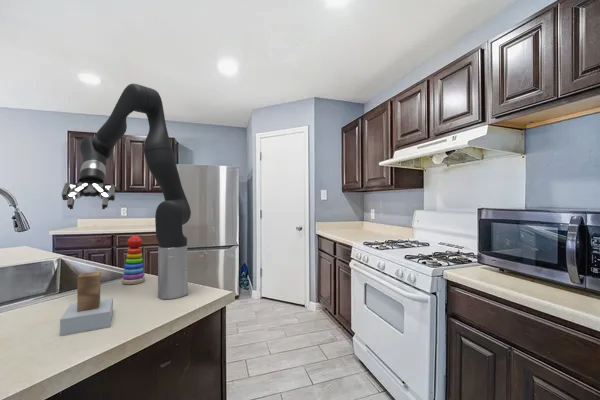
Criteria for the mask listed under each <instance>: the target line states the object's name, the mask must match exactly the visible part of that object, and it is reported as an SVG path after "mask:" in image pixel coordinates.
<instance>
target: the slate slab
mask: <svg viewBox="0 0 600 400" xmlns="http://www.w3.org/2000/svg"><path fill="white" fill-rule="evenodd" d="M113 312H114V297H109V298H100V305H99V309H93V310H87V311H80V312H77V302H73V303H69V305H68V306H67V308H66V309H65V311H64V313H63V314H62V316H61V317H60V319H59V336H60V337H61V336H67V335H74V334H78V333H84V332H89V331H95V330H101V329H105V328H110V326H111V322H112V317H113Z"/></svg>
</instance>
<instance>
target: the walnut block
mask: <svg viewBox="0 0 600 400" xmlns="http://www.w3.org/2000/svg"><path fill="white" fill-rule="evenodd" d="M76 290H77V292H76V293H77V295H76V296H77V299H76V300H77V301H76V303H77V312H80V311H87V310H93V309H99V305H100V299H101V271H91V272H82V273H81V272H80V274H79V275H78V276H77V289H76Z"/></svg>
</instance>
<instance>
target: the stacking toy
mask: <svg viewBox="0 0 600 400" xmlns="http://www.w3.org/2000/svg"><path fill="white" fill-rule="evenodd" d="M142 243H143V239H142V237H140V236H138V235H133V236H130V237H129V238H128V239H127V246H128V249H126V252H127V254H126V255H125V256H126V259H125V264H124V266H123V268H124V269H123V274H122V280H121V283H122V284H123V285H126V284H127V285H128V286H131V284H133V285H137V284H141V283H143V282H145V272H144V270H145V269H144V267H143V266H144V263H143V261H144V259H143V253H142V248H141V245H143V244H142Z"/></svg>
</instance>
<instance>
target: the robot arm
mask: <svg viewBox="0 0 600 400" xmlns="http://www.w3.org/2000/svg"><path fill="white" fill-rule="evenodd" d="M114 105H115V106H114V108H113V109H112V112H111V114H110V116H109V117H108V119H107V120H106V122H104V123H103V124H102V126H101V127H100V128H99V129H98V130H97V132H96V137H94V136H93V135H89V136H88V135H87V136H85V137H83V138H82V140H81V141H80V146H79V147H80V153H81V156H82V165H81V167H80V171H79V176H78V180H77V183H76V184H71V183H70V182H66V183H65V182H64V186H63V190H62V192H61V199H62V200H63V201H66V206H67V208H69V210H73V209H74V206H75V201H76V200H78V199H81V198H82V197H84V198H85V197H97V198H99V199H100V200H102V202H101V209H102V210H105V209H106V208H108V204H109V201H113V202H114V201H115V200H116V196H115V193H116V192H115V184H112V183H111V184H110V185H106V177H107V174H106V173H107V170H106V169H107V166H106V165H107V160H108V159H110V158H111V157H112V155H113V151H114V149H115V146H116V144H117V143H118V142H119V141H120V139H122V138H123V137H124V136H125V134H126V132H127V128H128V124H127V118H128V116H129V115H130V114H132V113H133V112H136V113H141V114H145V115H146V117H147V123H148V125H149V126H148V127H149V128H148V129H149V130H148V134H147V136H146V138H145V140H144V145H143V154H144V157H145V161H146V165H147V168H148V170H149V172H150V173H151V175H152V177H153V178H154V179H155V181H156V183H157V184H158V186H159V187H160V189H161V191H162V194H163V198H164V201H162V202H160V203H159V204H158V205H157V207H156V210H155V215H154V217H155V220H154V221H155V223H154V224H155V238H156V241H157V243H158V247H157V251H158V254H157V298H158V299H162V300H171V299H172V300H174V299H177V298H178V299H179V298H182V297H184V296H188V294H189V292H188V291H189V267H188V237H187V236H185V235H184V232H183V225H186V224H187V223H188V222H190V221H189V220H190V218H191V215H192V211H191V207H190V203H189V201H188V198H187V197H186V194H185V192H184V189H183V186H182V182H181V179H180V174H179V170H178V167H177V164H176V163H177V162H176V158H175V154H174V150H173V148H172V147H173V146H172V144H171V140H170V137H169V132H168V130H167V129H168V128H167V123H166V119H165V117H166V116H165V111H164V106H163V101H162V97H161V95H160V93H159V92H158V91H157V90H156V89H154V88H152V87H147V86H145V85H142V84H137V83H130V84H128V85H127V86H126V87H125V88H124V89H123V91H122V92H121V95H120V97H119V98H118V100H117V102H116V104H114ZM105 191H107V192H108V193H109V194H107V193H106V192H105ZM70 192H71V193H70Z"/></svg>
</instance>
